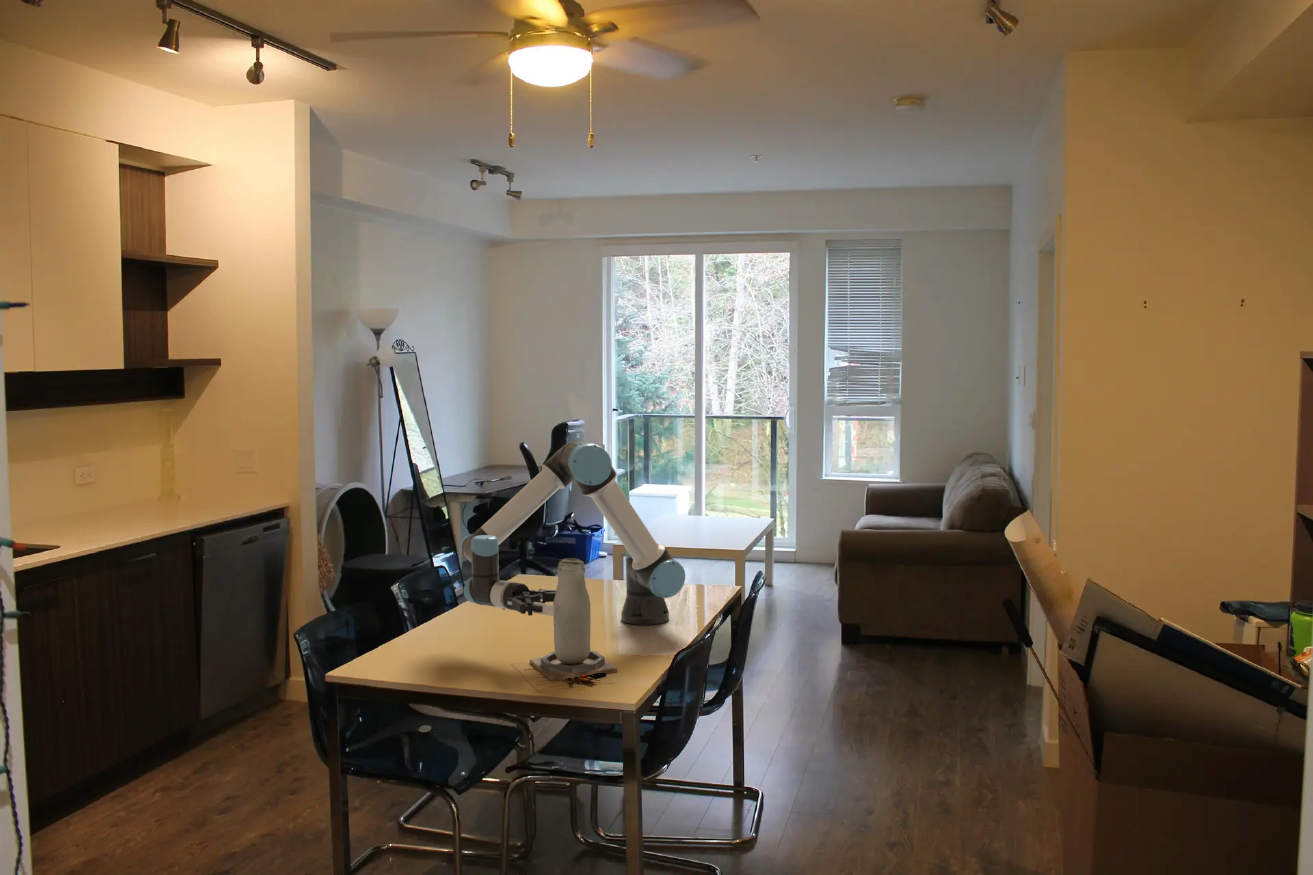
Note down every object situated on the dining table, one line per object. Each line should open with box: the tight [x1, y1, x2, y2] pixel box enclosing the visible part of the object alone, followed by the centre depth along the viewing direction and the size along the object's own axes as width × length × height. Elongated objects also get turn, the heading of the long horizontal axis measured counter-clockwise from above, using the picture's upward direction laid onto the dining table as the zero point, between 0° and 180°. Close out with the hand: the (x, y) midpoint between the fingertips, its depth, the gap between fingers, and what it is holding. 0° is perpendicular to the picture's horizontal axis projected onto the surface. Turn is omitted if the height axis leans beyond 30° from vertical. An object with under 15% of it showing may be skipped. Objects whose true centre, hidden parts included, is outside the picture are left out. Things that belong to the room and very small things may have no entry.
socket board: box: [529, 650, 618, 682], centre depth 260 cm, size 18×18×2 cm
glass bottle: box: [552, 557, 591, 665], centre depth 259 cm, size 10×10×28 cm
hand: (570, 605), depth 259 cm, fingers open, 13 cm apart
